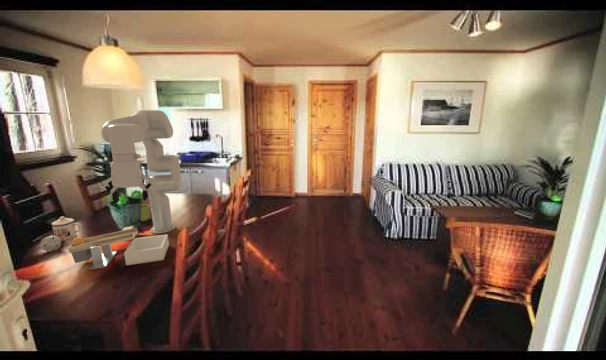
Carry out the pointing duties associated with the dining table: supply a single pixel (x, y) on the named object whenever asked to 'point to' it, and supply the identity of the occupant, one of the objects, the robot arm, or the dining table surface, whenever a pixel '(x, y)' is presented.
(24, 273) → the dining table surface
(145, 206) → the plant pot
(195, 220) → the dining table surface
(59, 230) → the teacup with lid
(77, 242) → the ball
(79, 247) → the lever
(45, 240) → the game die
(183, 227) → the dining table surface
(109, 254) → the lever stand
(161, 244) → the bin
